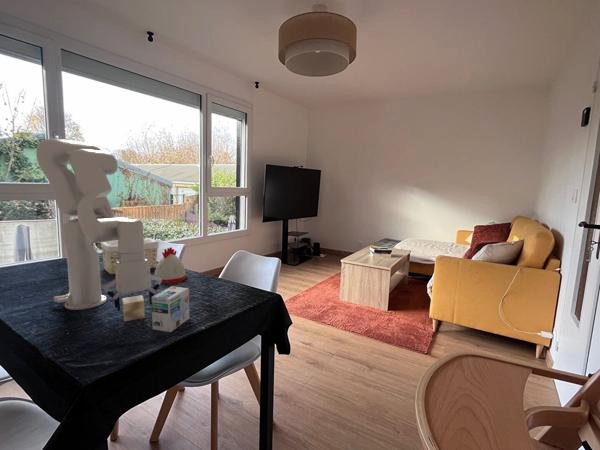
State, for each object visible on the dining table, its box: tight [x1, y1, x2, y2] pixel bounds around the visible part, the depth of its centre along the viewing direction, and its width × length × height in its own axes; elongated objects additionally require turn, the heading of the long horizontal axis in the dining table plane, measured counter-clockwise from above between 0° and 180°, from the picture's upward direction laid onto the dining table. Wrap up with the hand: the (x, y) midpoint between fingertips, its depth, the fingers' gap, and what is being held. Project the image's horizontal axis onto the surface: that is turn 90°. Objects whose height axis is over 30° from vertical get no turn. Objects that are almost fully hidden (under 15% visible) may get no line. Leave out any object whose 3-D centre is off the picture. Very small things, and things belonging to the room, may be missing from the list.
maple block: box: [121, 294, 146, 322], centre depth 102 cm, size 6×6×6 cm
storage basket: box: [100, 237, 159, 275], centre depth 157 cm, size 24×16×15 cm
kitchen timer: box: [153, 247, 187, 284], centre depth 143 cm, size 14×14×15 cm
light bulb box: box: [151, 285, 190, 333], centre depth 97 cm, size 11×7×11 cm, turn 168°
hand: (135, 306), depth 101 cm, fingers open, 9 cm apart
